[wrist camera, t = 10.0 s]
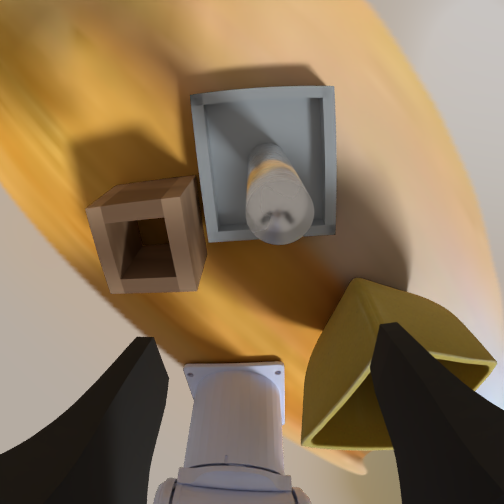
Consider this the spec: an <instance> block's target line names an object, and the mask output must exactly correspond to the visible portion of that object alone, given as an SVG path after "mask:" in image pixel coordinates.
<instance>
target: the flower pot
mask: <svg viewBox="0 0 504 504" xmlns="http://www.w3.org/2000/svg"><path fill="white" fill-rule="evenodd" d="M392 322H398V323H399V324H400V325H401V326H402V327H403V328H404V329H405V330H406V331H407V332H408V333H409V334H410V335H411V336H412V337H413V338H414V339H415V340H417V341H418V342H419V343H420V344H421V345H422V346H423V347H424V348H425V349H426V350H427V351H428V352H429V353H430V354H431V355H432V356H433V357H434V358H436V359H437V360H438V361H439V362H440V363H441V364H442V365H443V366H444V367H445V368H447V369H448V370H449V371H450V372H451V373H452V374H454V375H455V376H456V377H457V378H458V379H460V380H461V381H462V382H463V383H464V384H466V385H467V386H468V387H470V388H471V389H472V390H474V391H476V389H477V388H478V387H479V386H480V385H481V384H482V383H483V382H484V381H485V379H486V378H487V377H488V376H489V375H490V374H491V372H492V371H493V369H494V368H495V366H496V365H497V361H496V360H495V359H494V358H493V357H492V356H491V355H490V353H489V352H488V351H487V350H486V349H485V347H484V346H483V345H482V344H481V343H480V342H479V341H478V339H477V338H476V337H475V336H474V335H473V334H472V333H471V332H470V331H469V330H468V328H467V327H466V326H465V325H464V324H463V323H462V322H461V321H460V320H459V319H458V318H457V317H456V316H455V315H453V314H452V313H451V312H450V311H448V310H447V309H445V308H444V307H442V306H441V305H439V304H437V303H435V302H433V301H431V300H429V299H426V298H423V297H421V296H418V295H415V294H412V293H409V292H405V291H401V290H398V289H395V288H391V287H388V286H385V285H382V284H378V283H375V282H372V281H369V280H366V279H363V278H354V279H353V280H352V281H351V282H350V283H349V285H348V287H347V289H346V291H345V293H344V294H343V296H342V298H341V300H340V302H339V304H338V305H337V307H336V309H335V311H334V312H333V314H332V316H331V317H330V319H329V321H328V323H327V324H326V326H325V328H324V330H323V332H322V334H321V335H320V337H319V339H318V341H317V343H316V345H315V347H314V350H313V352H312V355H311V357H310V360H309V363H308V367H307V371H306V376H305V382H304V397H303V415H302V432H301V445H302V446H305V447H311V448H320V449H333V450H394V449H393V446H392V443H391V439H390V436H389V433H388V430H387V427H386V424H385V421H384V418H383V415H382V412H381V409H380V406H379V403H378V400H377V397H376V394H375V390H374V385H373V381H372V376H371V371H370V364H371V360H372V356H373V352H374V348H375V343H376V339H377V335H378V330H379V325H380V324H385V323H392Z"/></svg>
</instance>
